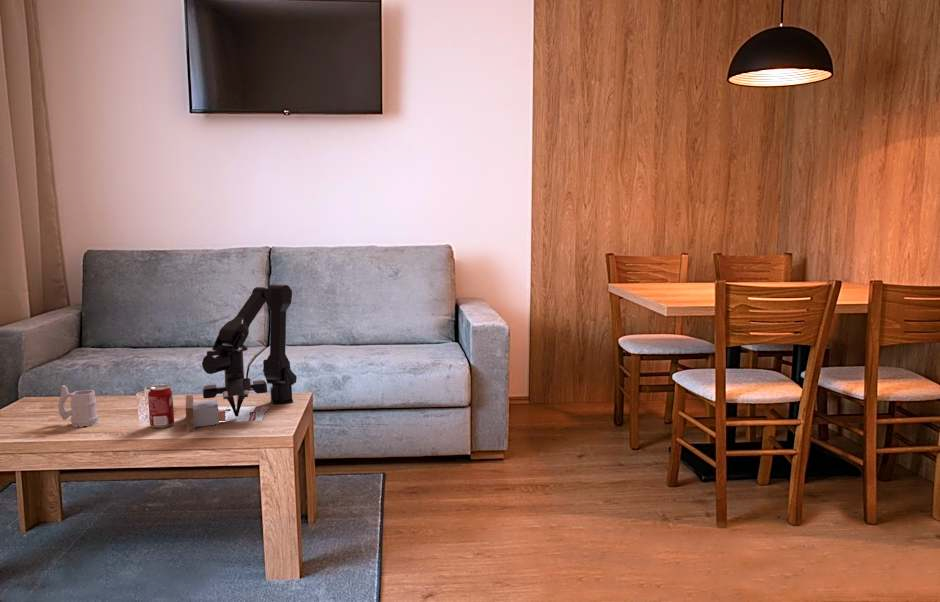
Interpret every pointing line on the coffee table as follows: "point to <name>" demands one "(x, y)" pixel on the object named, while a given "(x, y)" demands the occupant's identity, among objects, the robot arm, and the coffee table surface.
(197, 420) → the block
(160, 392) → the soda can
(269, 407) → the coffee table surface
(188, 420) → the wall
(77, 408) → the mug
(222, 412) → the orange white rectangular bar
